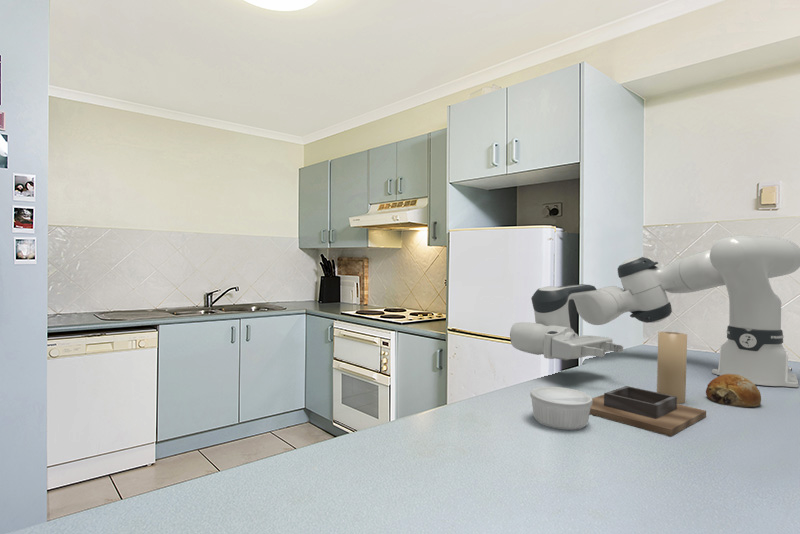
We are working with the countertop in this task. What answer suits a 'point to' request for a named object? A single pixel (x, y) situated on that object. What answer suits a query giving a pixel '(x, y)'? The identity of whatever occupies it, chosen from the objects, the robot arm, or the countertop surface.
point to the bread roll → (733, 391)
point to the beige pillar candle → (672, 364)
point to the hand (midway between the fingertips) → (613, 351)
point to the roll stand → (646, 410)
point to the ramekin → (561, 407)
